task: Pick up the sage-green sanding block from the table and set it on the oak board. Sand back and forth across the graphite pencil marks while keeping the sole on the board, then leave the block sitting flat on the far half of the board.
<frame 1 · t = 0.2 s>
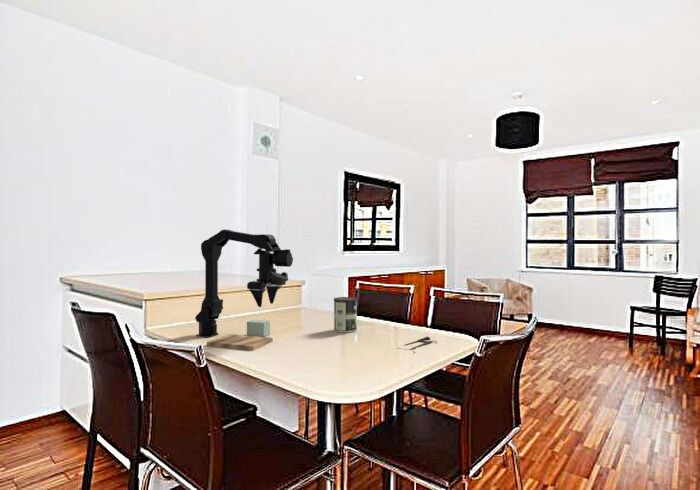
hand: (265, 305, 170), 14 cm above the table, fingers open, 9 cm apart
coffee can: (345, 330, 189), on the table
oak board: (240, 343, 164), on the table
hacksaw: (419, 347, 161), on the table
sanding block: (258, 335, 179), on the table
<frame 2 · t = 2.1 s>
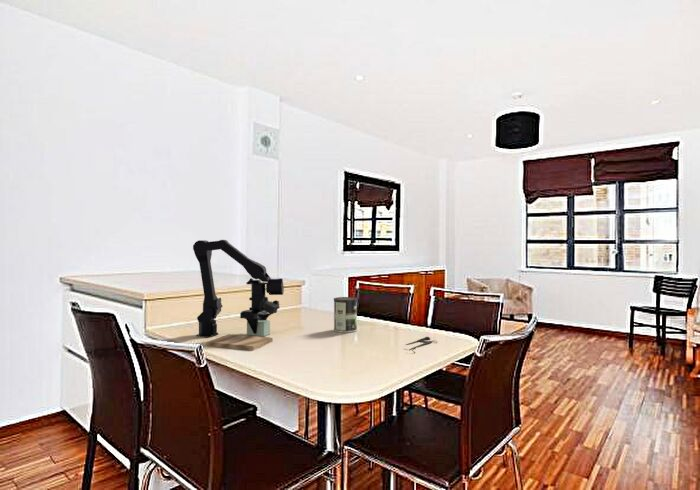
hand: (258, 332, 179), 1 cm above the table, fingers closed on sanding block, 5 cm apart
sanding block: (258, 335, 179), on the table, touching gripper
everything else where it was.
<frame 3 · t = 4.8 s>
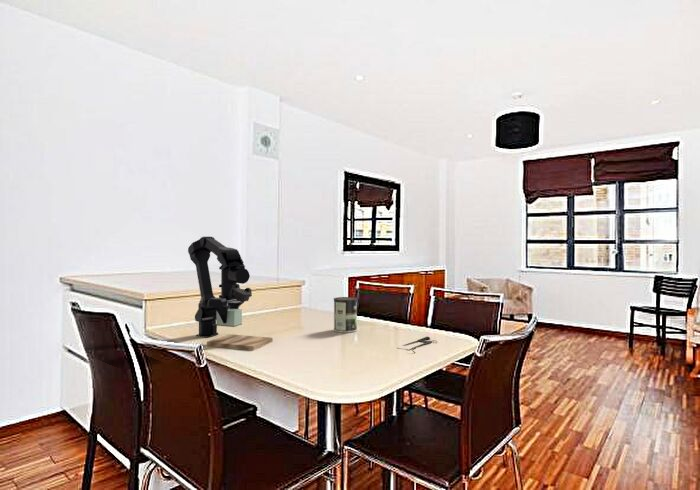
hand: (229, 322, 166), 8 cm above the table, fingers closed on sanding block, 5 cm apart
sanding block: (229, 325, 166), point 7 cm above the table, touching gripper
everything else where it was.
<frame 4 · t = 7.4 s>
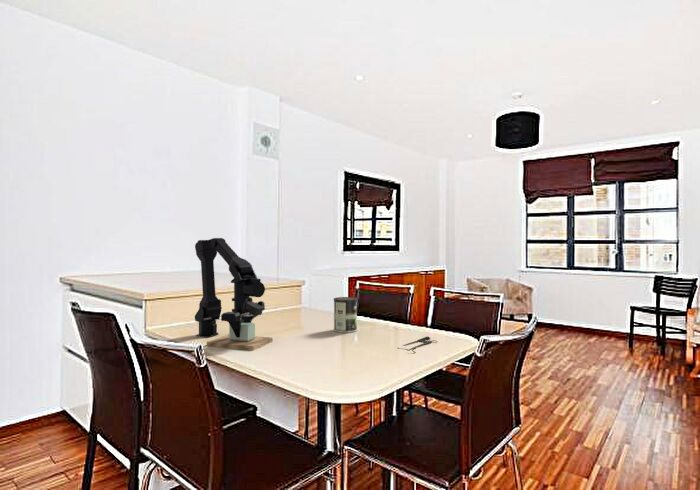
hand: (242, 336, 164), 3 cm above the table, fingers closed on sanding block, 5 cm apart
sanding block: (242, 339, 164), point 2 cm above the table, touching gripper
everything else where it was.
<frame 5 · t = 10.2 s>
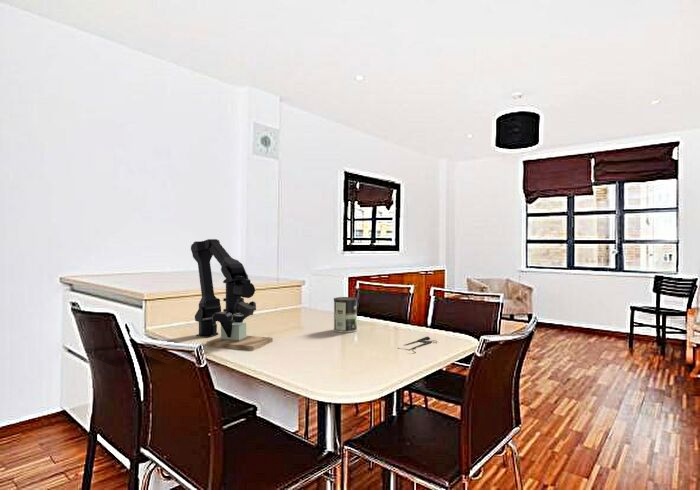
hand: (233, 335, 165), 3 cm above the table, fingers closed on sanding block, 5 cm apart
sanding block: (233, 338, 165), point 2 cm above the table, touching gripper
everything else where it was.
when the fingers open (3 cm above the table, at t = 12.9 s): sanding block stays where it is, resting on oak board.
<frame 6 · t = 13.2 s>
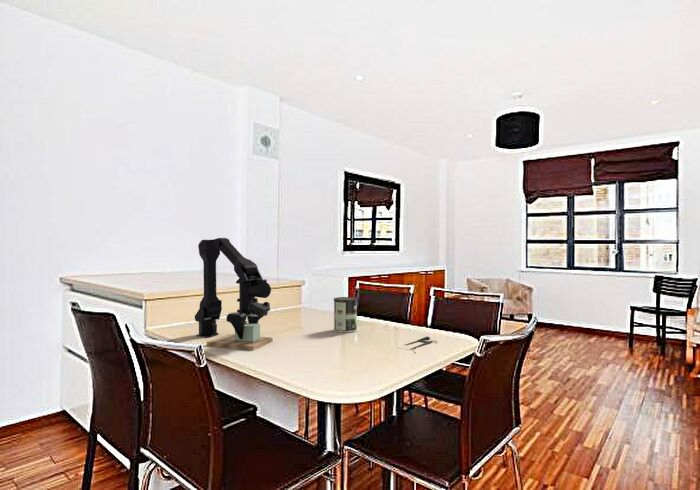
hand: (247, 336, 163), 3 cm above the table, fingers open, 8 cm apart
sanding block: (247, 340, 163), point 2 cm above the table, touching oak board
everything else where it was.
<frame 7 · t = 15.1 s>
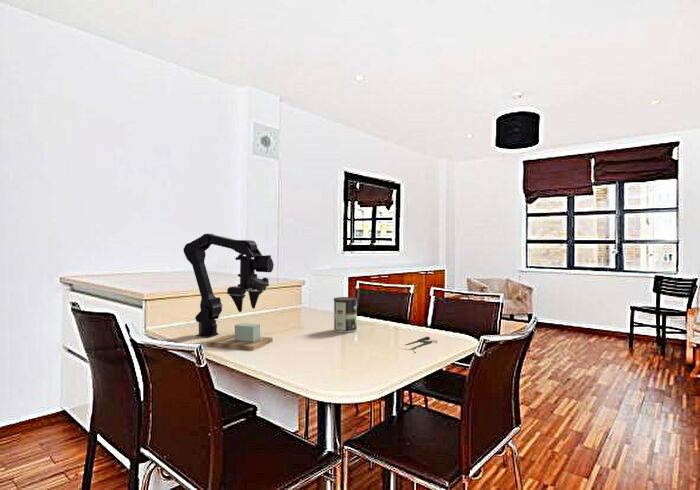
hand: (246, 310, 173), 11 cm above the table, fingers open, 9 cm apart
nothing on the table moved.
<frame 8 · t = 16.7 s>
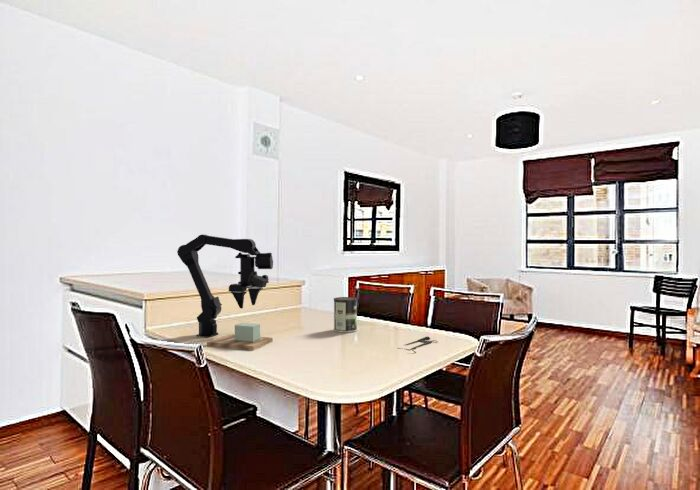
hand: (247, 306, 178), 12 cm above the table, fingers open, 9 cm apart
nothing on the table moved.
at the end: sanding block inside the target area (0.1 cm from its centre), point 1.5 cm above the table; sanding block tilted 0°; the gripper is holding nothing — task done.
